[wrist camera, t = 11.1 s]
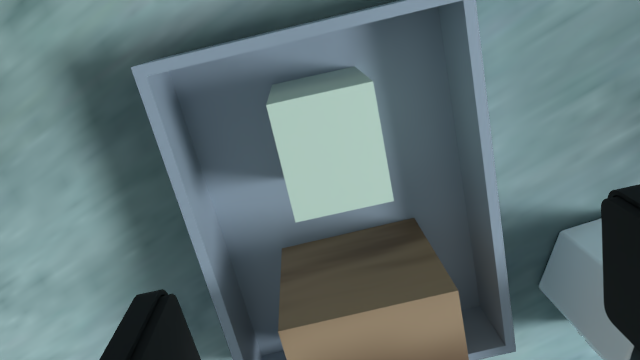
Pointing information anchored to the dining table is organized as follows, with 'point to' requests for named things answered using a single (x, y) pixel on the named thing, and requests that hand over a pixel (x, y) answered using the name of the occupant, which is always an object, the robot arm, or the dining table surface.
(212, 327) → the dining table surface
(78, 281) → the dining table surface
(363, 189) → the pale green block
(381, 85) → the box
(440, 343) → the walnut block
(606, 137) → the dining table surface
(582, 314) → the jar
